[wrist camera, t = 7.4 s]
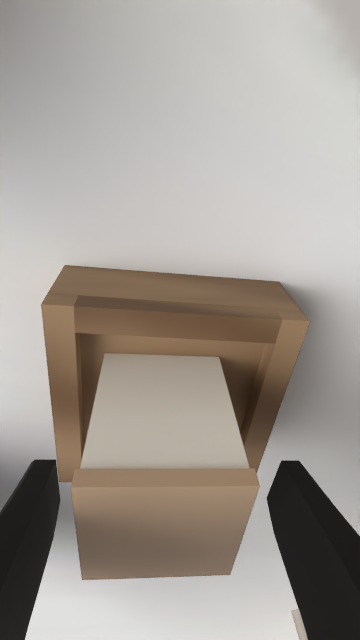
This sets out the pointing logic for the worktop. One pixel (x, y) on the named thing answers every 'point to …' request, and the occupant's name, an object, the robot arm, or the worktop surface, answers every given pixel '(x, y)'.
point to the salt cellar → (161, 471)
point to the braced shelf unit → (299, 624)
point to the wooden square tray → (168, 342)
